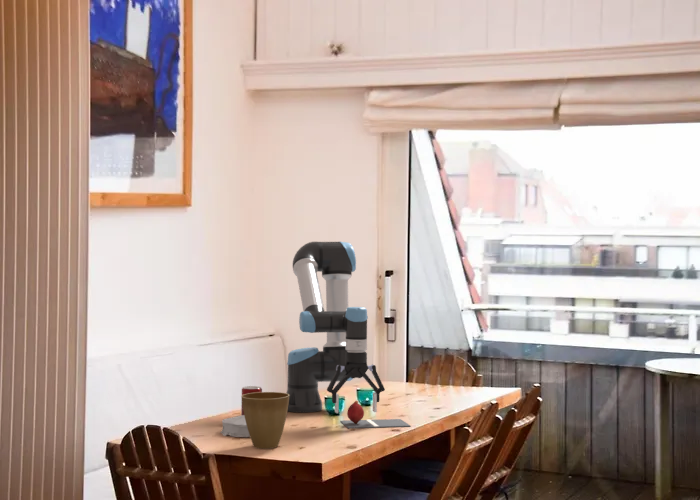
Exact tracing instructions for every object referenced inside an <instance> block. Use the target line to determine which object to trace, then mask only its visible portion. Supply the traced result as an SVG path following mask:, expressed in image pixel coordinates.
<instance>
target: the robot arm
mask: <svg viewBox="0 0 700 500" xmlns="http://www.w3.org/2000/svg"><path fill="white" fill-rule="evenodd" d="M356 270H357V258H356V254H355V248H354V247H353V245H352V244H351V242H345V241H310V242H307V243H305V244H304V245H302V246H301V247H300V248H299V249H298V250H297V251H296V253H295V254H294V256H293V260H292V271H293V273H294V275H295V276H296V278H297V284H298V289H299V290H298V291H299V294H300V299H301V304H302V311H301V312H300V313H299V318H298V319H299V320H298V322H299V323H298V325H299V329H300V331H301V333H302V332H303V333H310V334H313V333H326V342H325V344H324V345H323V346H322V351H321V350H319V348H318V347H303V348H297V349H294V350H291V351H290V352H289V353H288V355H287V363H286V365H287V389H286V392H285V393H287V394H289V404H288V410H287V412H292V413H312V412H313V413H315V412H320V411H322V410H323V402H322V399H321V396H320V392H319V382H321V383H324V382H326V383H327V382H329V384H328V386H327V387H326V391H327V392H328V393H331V395H332V396H331V401H332V402H331V403H332V404H334V413H336V414H339V401H340V400H339V395H340V394H339V393H338V392H339V391H340V390H341V388H342V387H343V386H344V385H345V383H346V382H350V381H353V380H354V379H356V378H357V379H362V378H363V379H364V380H365V382H367V384H368V385H369V386H370V387H371V388H372V389H373V391H374V392H372V412H374V413H377V412H378V411H377V410H378V409H377V407H378V406H377V404H378V403H379V402H380V394H381V392H384V391H385V389H386V388H385V387H384V384H383V383H382V380H381V378H380V376H379V374H378V371H377V366H376V364H373V363H372V364H371V365H368V352H367V350H368V319H369V318H368V309H367V308H366V307H364V306H349V279H350V278H351V277H352V274H353V273H355V271H356ZM318 272H321V277H322V278H323V279H324V280H325V299H326V301H325V302H326V303H325V305H326V306H325V307H324V302H323V297H322V293H321V288H320V287H321V286H320V283H319V278H318ZM325 308H326V309H325ZM368 370H369V371H370V372H371V374H372V376H373V378H374V380H375V382H376V383H377V386H376V384H375V383H374V382H373V381H372V379H371V378H370V377H369V376H368V375H367V371H368ZM336 383H337V384H336Z"/></svg>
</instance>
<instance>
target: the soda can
mask: <svg viewBox="0 0 700 500" xmlns="http://www.w3.org/2000/svg"><path fill="white" fill-rule="evenodd" d="M257 392H263V388H262V387H261V386H256V385H254V386H253V385H252V386H251V385H250V386H248V385H247V386H243V387H242V388H241V396H242V395H244V394H248V393H257ZM240 406H241V409H240V410H241V411H240V412H241V415H244V411H243V405H242V400H241V405H240ZM241 415H240V416H241Z"/></svg>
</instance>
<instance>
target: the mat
mask: <svg viewBox="0 0 700 500" xmlns="http://www.w3.org/2000/svg"><path fill="white" fill-rule="evenodd" d="M340 423H341V424H342V425H344V426H345V427H346V428H347V429H350V430H351V429H374V428H375V429H376V428H378V429H380V428H383V429H384V428H409V427H411V426H412V425H410V424H409V423H408V422H406V421H405V420H403V419H402V418H388V419H386V418H385V419H361V420H360V421H359V422H358V423H356V424H355V423H354V422H352V421H351V420H350V419H347V420H343V419H342V420H340Z"/></svg>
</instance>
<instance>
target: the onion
mask: <svg viewBox="0 0 700 500" xmlns="http://www.w3.org/2000/svg"><path fill="white" fill-rule="evenodd" d="M346 414H347V417H348V420H351V421H352V422H354V423H355V424H356V423H358V422H359V421H360V420H363V418H364V416H365V412H364V408H363V407H362V405H360V404H359V400H355V401H353V403H352V404H350V405H349V406H348V408H347V413H346Z"/></svg>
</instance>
